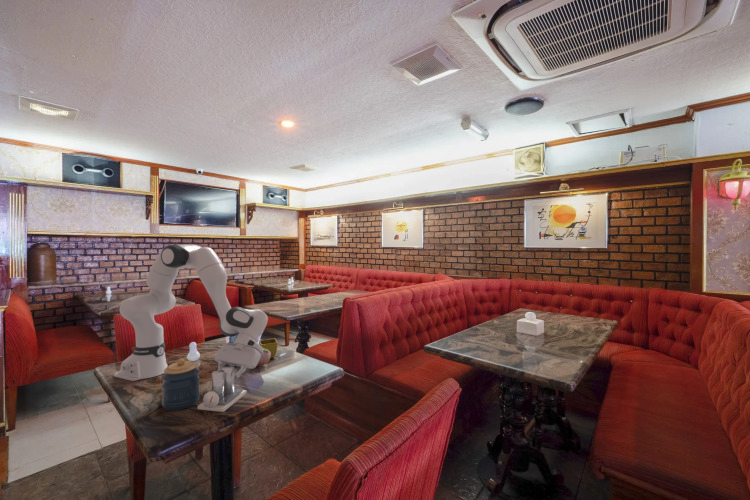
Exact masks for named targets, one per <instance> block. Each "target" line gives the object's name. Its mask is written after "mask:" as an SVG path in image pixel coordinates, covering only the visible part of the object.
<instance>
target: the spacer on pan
mask: <svg viewBox="0 0 750 500" xmlns="http://www.w3.org/2000/svg"><path fill="white" fill-rule="evenodd" d="M211 391H214V392H216V393H217V394H218V396H219V399H222V398H224V370H218V369H217V370H214V371H212V372H211Z"/></svg>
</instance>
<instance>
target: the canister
mask: <svg viewBox="0 0 750 500" xmlns="http://www.w3.org/2000/svg"><path fill="white" fill-rule="evenodd" d="M164 372H165V373H163V374H161V380H162V384H161V398H162V399H161V405H162V409H164V410H165V411H179V410H184V409H187V408H190V407H192V406H194V405H195V404H197V403H198V402H199V400H200V397H201V392H200V391H201V390H200V379H201V378H200V376H199V373H200V368H199V367H198V363H197V362H195V361H192V360H185V359H184V358H178V360H177V361H176V362H174V363H171V364H169V365H168V366H167V368H166V369H165V370H164Z"/></svg>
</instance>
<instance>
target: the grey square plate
mask: <svg viewBox="0 0 750 500" xmlns="http://www.w3.org/2000/svg"><path fill="white" fill-rule="evenodd" d="M243 390H244V389H242V388H235V387H234V392H232V393H229V394H224V398H222V399H219V403H218V404H227V403H228V402H229V401H231V400H232V399H233V398H234V397H236V396H237V395H238V394H240V393H241V392H242V391H243ZM203 402H204V401H203V400H202V403H203Z"/></svg>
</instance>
